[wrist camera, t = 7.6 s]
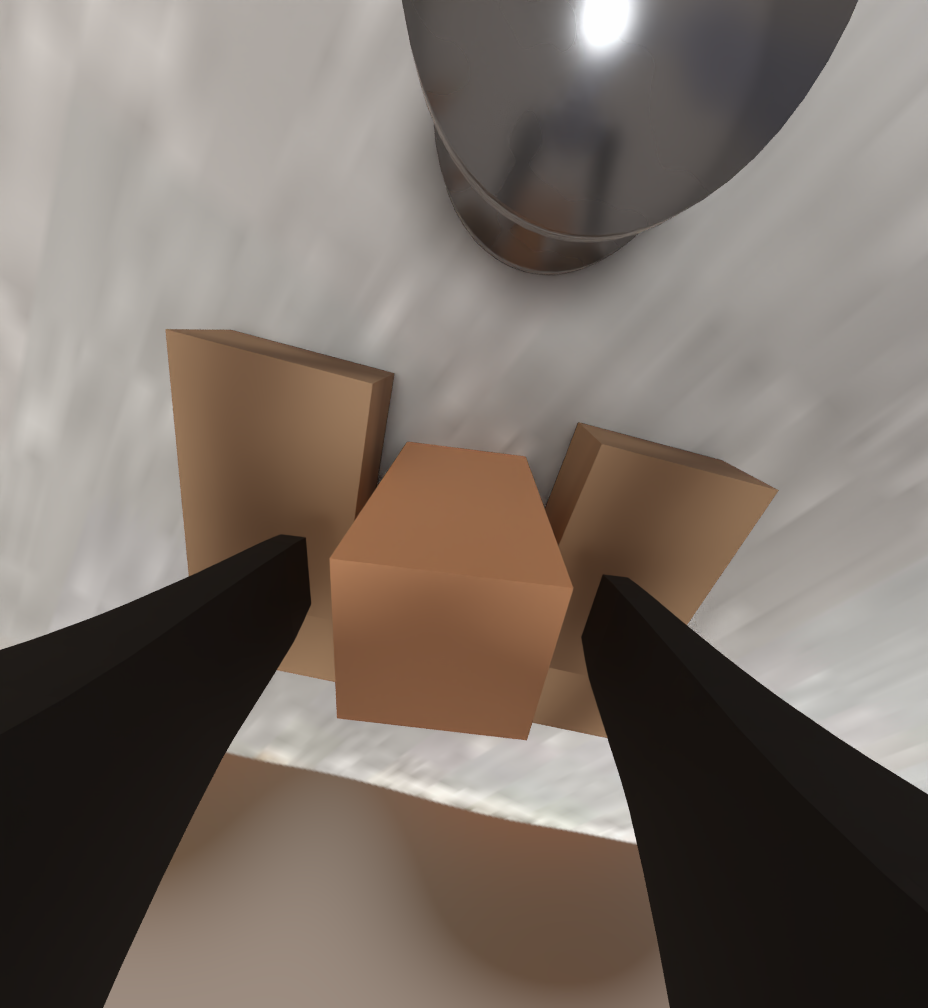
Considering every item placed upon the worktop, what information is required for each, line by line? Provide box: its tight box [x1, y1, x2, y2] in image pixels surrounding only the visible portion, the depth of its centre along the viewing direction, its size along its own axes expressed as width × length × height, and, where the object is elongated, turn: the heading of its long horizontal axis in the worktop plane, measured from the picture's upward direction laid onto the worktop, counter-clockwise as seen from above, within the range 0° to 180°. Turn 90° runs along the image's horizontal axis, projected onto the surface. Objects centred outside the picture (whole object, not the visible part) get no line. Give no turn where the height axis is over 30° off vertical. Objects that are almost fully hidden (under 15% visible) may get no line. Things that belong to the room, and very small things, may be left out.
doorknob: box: [402, 0, 858, 275], centre depth 7 cm, size 6×6×5 cm
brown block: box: [329, 442, 573, 740], centre depth 10 cm, size 4×4×7 cm
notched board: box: [166, 329, 779, 738], centre depth 13 cm, size 16×11×2 cm
